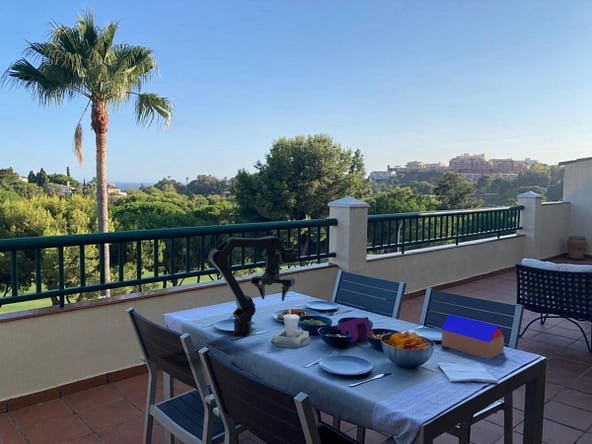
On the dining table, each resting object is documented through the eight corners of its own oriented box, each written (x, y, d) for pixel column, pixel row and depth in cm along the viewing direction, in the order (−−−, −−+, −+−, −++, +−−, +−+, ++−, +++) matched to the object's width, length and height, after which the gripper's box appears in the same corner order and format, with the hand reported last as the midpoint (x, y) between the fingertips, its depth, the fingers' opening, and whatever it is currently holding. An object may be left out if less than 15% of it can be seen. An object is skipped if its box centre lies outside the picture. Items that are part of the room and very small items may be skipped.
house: (456, 339, 189) (457, 311, 189) (504, 352, 174) (505, 322, 173) (440, 345, 182) (441, 316, 181) (489, 360, 166) (490, 328, 166)
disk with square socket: (265, 345, 181) (265, 337, 181) (280, 333, 196) (280, 326, 196) (304, 350, 176) (304, 342, 176) (316, 337, 191) (316, 330, 191)
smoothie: (282, 337, 189) (282, 304, 188) (298, 336, 190) (298, 303, 189) (283, 342, 183) (283, 308, 182) (299, 342, 183) (299, 307, 182)
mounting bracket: (331, 348, 195) (355, 341, 181) (326, 328, 198) (349, 320, 183) (348, 344, 200) (373, 337, 186) (343, 325, 203) (367, 316, 188)
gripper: (245, 266, 195) (245, 302, 196) (286, 269, 189) (286, 306, 190) (256, 262, 206) (256, 297, 207) (295, 265, 200) (295, 300, 201)
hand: (273, 300), depth 201 cm, fingers open, 9 cm apart
